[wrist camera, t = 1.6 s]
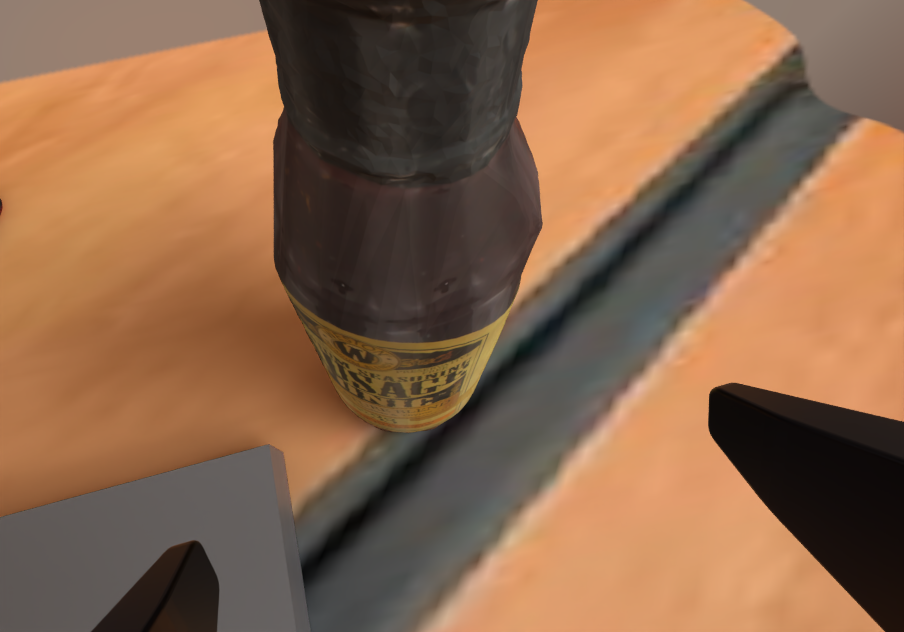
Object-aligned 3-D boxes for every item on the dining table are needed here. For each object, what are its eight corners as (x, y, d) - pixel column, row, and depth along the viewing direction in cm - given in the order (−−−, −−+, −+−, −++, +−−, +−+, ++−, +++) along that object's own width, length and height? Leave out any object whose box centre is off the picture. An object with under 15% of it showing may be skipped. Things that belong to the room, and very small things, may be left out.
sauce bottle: (313, 409, 22) (-272, -239, 4) (373, 288, 24) (201, -464, 6) (457, 465, 21) (618, 8, 3) (503, 335, 24) (749, -358, 5)
